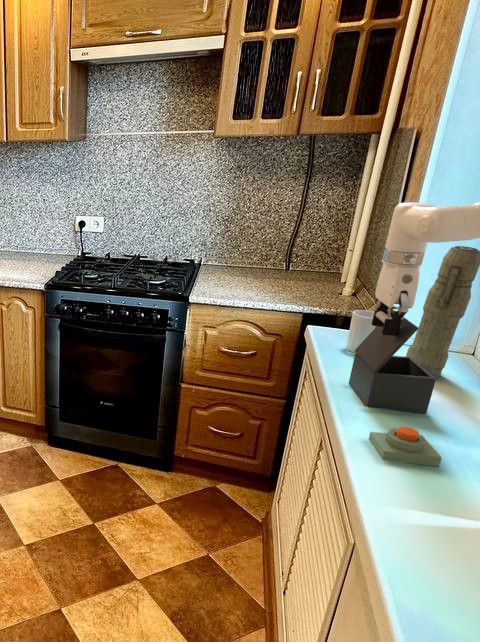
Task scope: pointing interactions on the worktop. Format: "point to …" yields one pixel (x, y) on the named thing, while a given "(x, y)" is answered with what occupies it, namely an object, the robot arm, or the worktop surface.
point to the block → (404, 449)
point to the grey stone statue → (444, 308)
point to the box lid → (384, 343)
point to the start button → (407, 434)
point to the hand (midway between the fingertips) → (384, 329)
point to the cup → (359, 328)
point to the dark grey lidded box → (393, 385)
